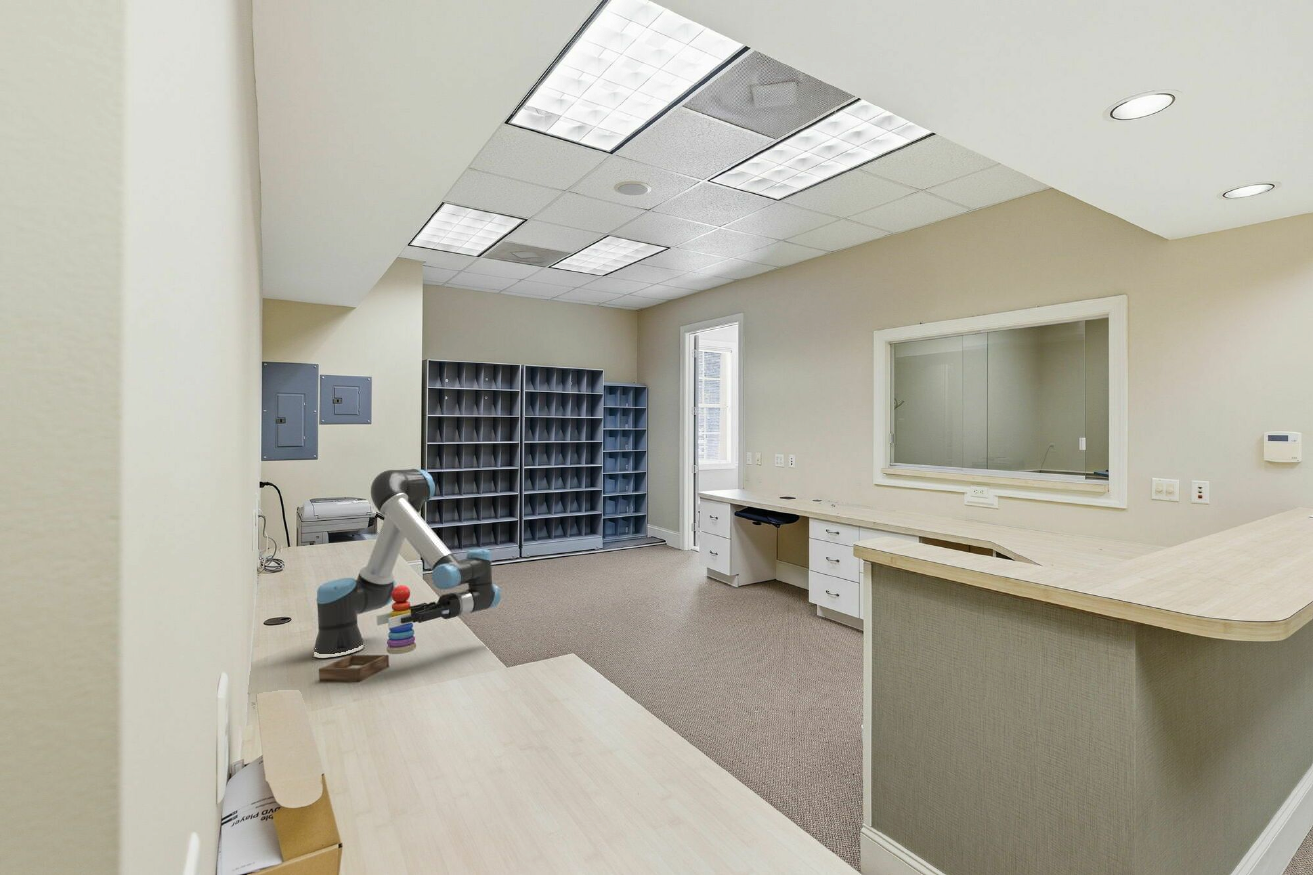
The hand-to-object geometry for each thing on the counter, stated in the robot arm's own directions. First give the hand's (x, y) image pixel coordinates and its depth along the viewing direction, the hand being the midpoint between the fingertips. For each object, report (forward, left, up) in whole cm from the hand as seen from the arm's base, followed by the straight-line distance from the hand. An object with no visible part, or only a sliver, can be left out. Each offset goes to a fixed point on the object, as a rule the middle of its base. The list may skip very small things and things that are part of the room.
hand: (383, 621), depth 176 cm
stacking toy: (-5, +2, -10) cm, 11 cm away
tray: (-3, -12, -16) cm, 20 cm away
